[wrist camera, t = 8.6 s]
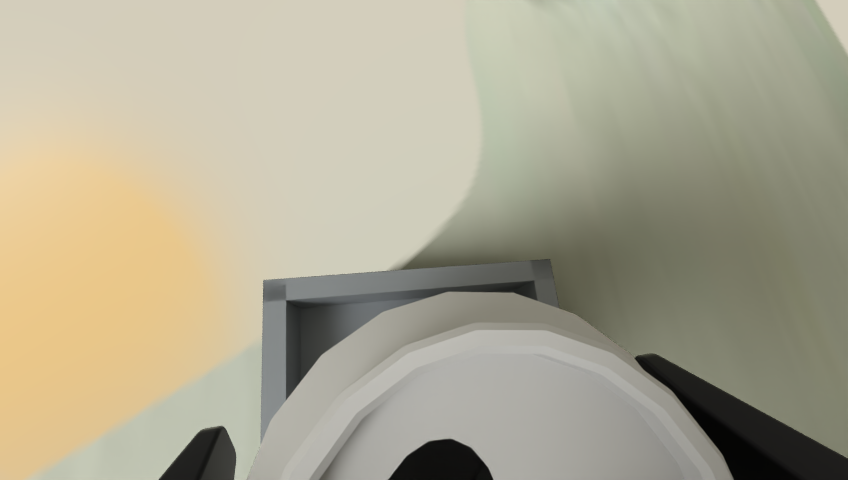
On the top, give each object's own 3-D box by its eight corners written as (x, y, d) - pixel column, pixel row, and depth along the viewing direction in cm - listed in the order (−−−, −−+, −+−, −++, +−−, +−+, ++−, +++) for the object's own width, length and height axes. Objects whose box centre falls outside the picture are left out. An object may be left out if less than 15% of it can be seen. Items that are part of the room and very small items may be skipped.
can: (347, 311, 16) (275, 223, 5) (518, 340, 17) (812, 322, 5) (304, 514, 14) (4, 1173, 3) (501, 541, 15) (922, 1202, 3)
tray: (570, 546, 15) (612, 590, 13) (282, 594, 14) (256, 656, 11) (524, 273, 18) (550, 259, 16) (283, 292, 17) (263, 280, 14)
